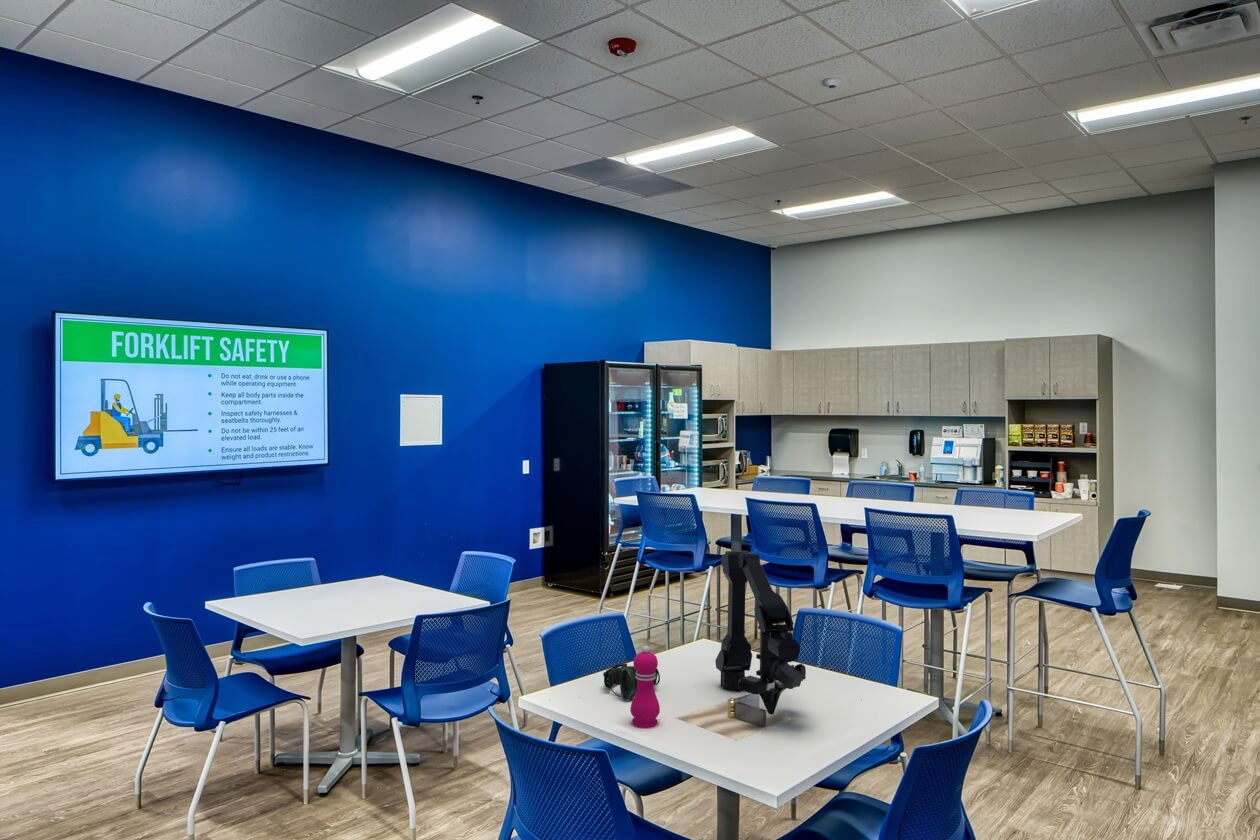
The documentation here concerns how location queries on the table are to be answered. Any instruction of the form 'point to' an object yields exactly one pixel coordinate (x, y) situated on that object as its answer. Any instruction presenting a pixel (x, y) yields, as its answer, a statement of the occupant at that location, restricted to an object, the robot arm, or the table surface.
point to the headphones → (624, 679)
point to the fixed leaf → (746, 699)
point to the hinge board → (728, 721)
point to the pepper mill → (645, 691)
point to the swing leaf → (749, 713)
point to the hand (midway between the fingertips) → (770, 713)
